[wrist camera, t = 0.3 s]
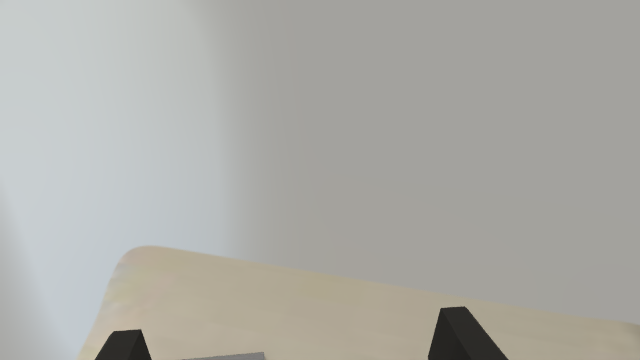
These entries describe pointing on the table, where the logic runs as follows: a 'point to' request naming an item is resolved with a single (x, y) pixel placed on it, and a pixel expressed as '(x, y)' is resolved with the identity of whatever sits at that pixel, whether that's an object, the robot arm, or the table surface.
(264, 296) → the table surface
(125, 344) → the robot arm
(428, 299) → the table surface
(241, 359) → the mat
